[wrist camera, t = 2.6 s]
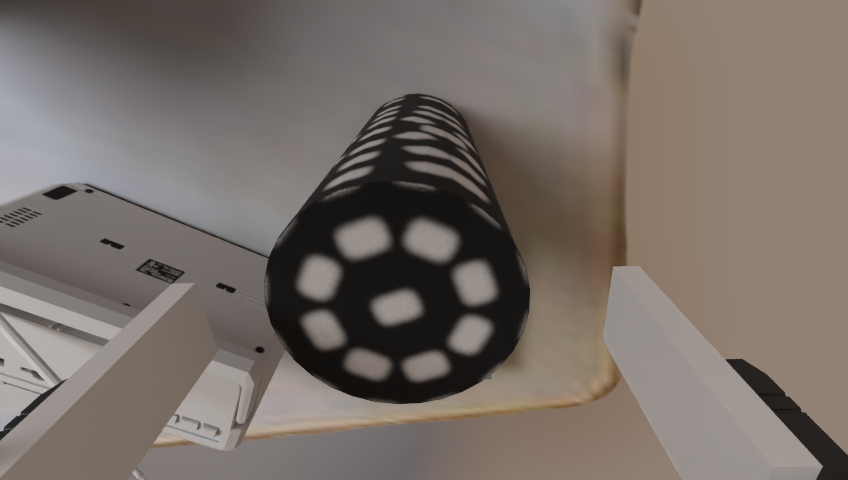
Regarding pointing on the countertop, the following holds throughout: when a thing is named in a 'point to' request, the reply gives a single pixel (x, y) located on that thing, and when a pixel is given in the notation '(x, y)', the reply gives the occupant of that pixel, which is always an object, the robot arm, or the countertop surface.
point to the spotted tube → (400, 264)
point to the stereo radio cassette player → (129, 300)
